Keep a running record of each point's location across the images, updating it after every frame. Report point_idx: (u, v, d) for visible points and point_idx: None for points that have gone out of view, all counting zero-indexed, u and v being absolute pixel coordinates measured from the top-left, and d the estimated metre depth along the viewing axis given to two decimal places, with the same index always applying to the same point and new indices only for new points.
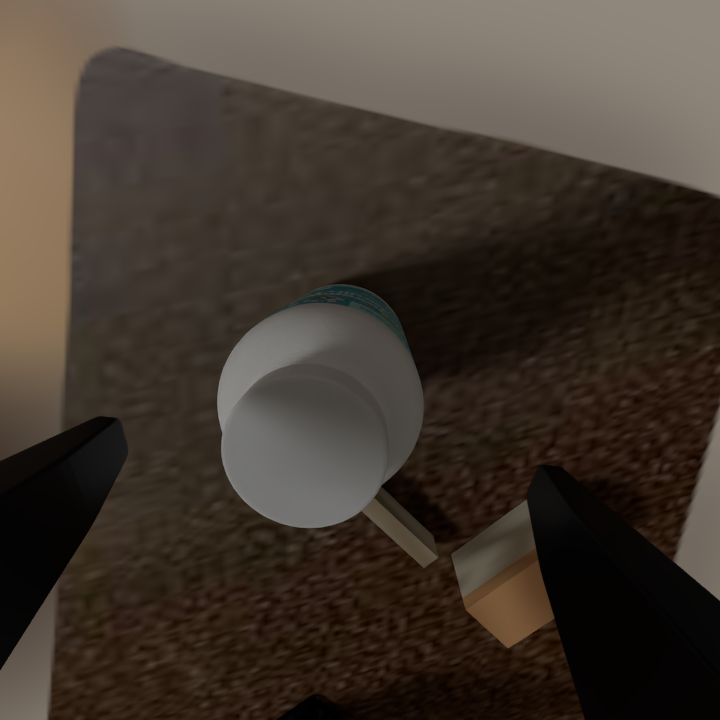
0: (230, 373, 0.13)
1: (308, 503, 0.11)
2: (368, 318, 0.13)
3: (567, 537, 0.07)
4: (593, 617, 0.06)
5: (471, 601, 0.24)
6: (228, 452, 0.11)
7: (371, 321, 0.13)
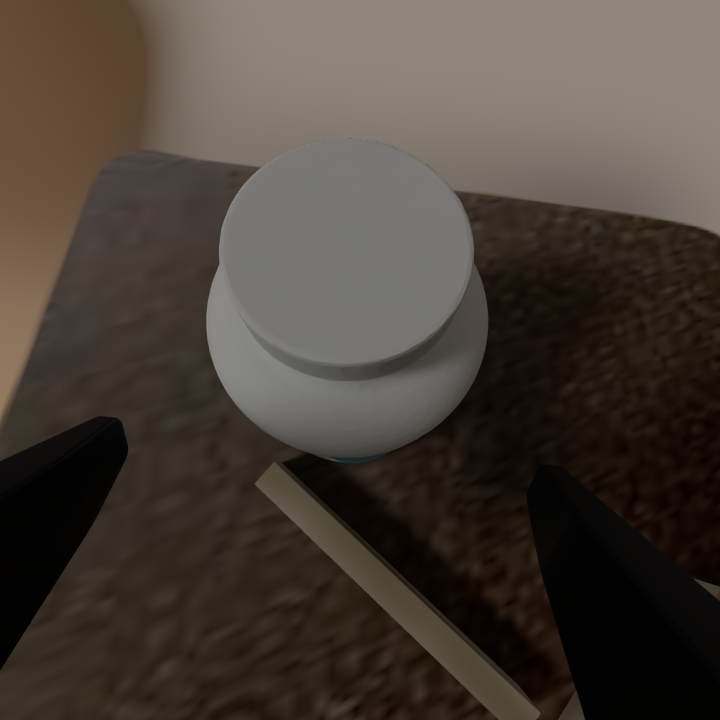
0: None
1: (358, 315, 0.07)
2: None
3: (567, 537, 0.07)
4: (593, 617, 0.06)
5: None
6: (230, 244, 0.07)
7: None
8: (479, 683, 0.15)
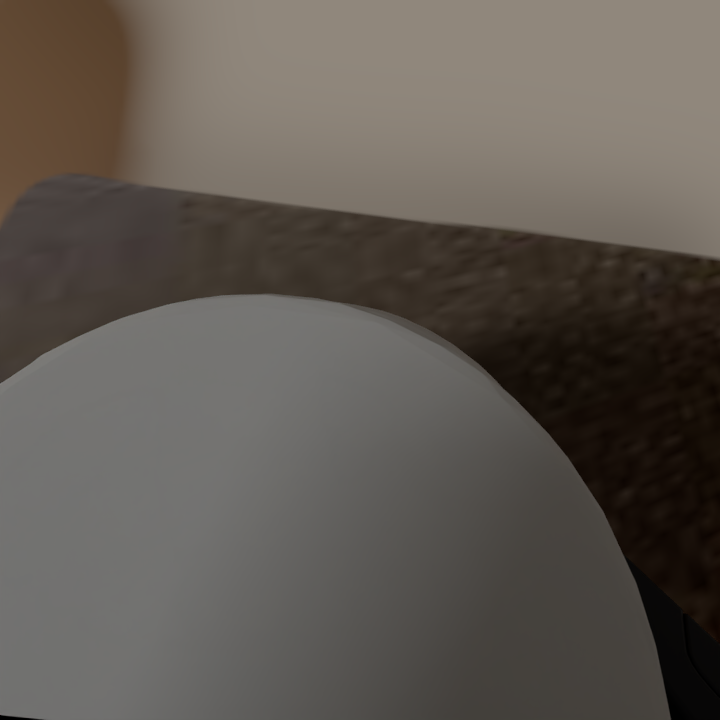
0: None
1: None
2: None
3: None
4: None
5: None
6: None
7: None
8: None
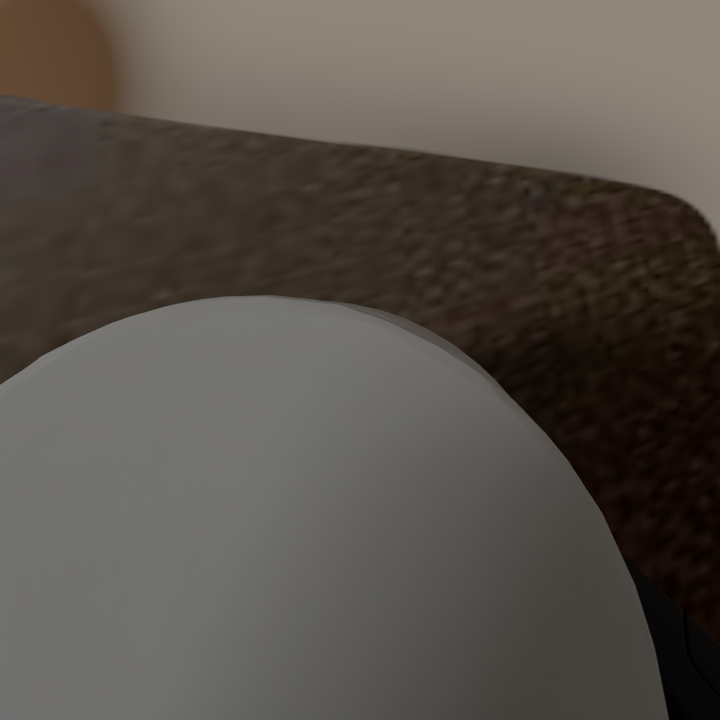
0: None
1: None
2: None
3: None
4: None
5: None
6: None
7: None
8: None
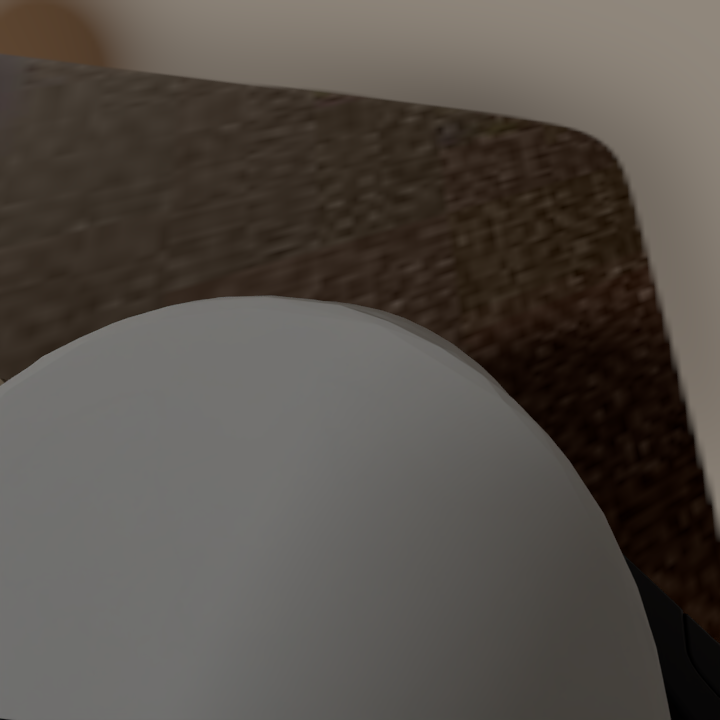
0: None
1: None
2: None
3: None
4: None
5: None
6: None
7: None
8: None
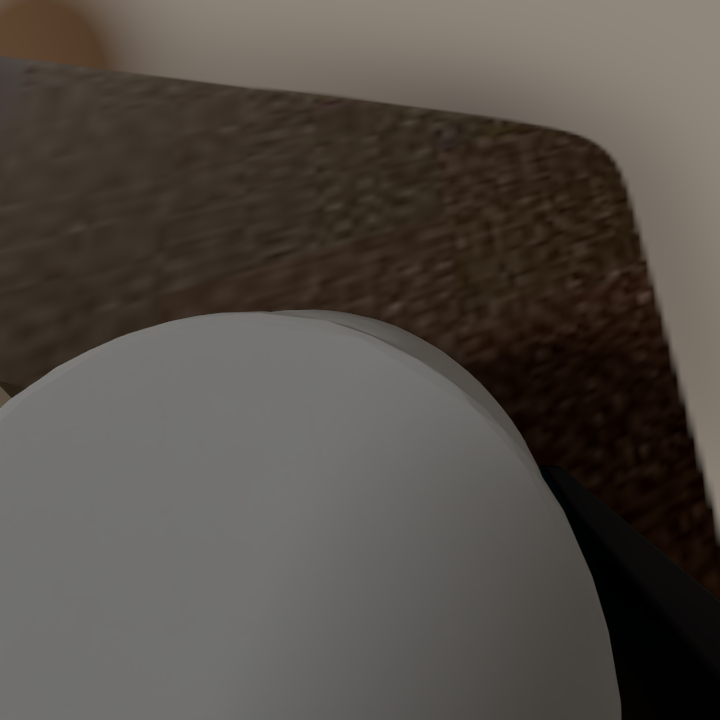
0: None
1: None
2: None
3: None
4: None
5: None
6: None
7: None
8: None
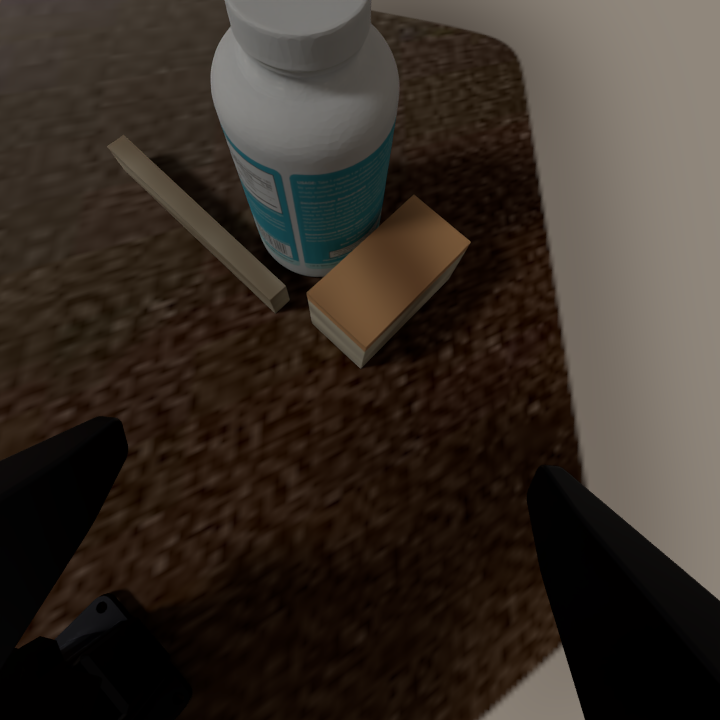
0: None
1: (300, 13, 0.12)
2: None
3: (567, 537, 0.07)
4: (593, 617, 0.06)
5: None
6: None
7: None
8: (246, 267, 0.22)
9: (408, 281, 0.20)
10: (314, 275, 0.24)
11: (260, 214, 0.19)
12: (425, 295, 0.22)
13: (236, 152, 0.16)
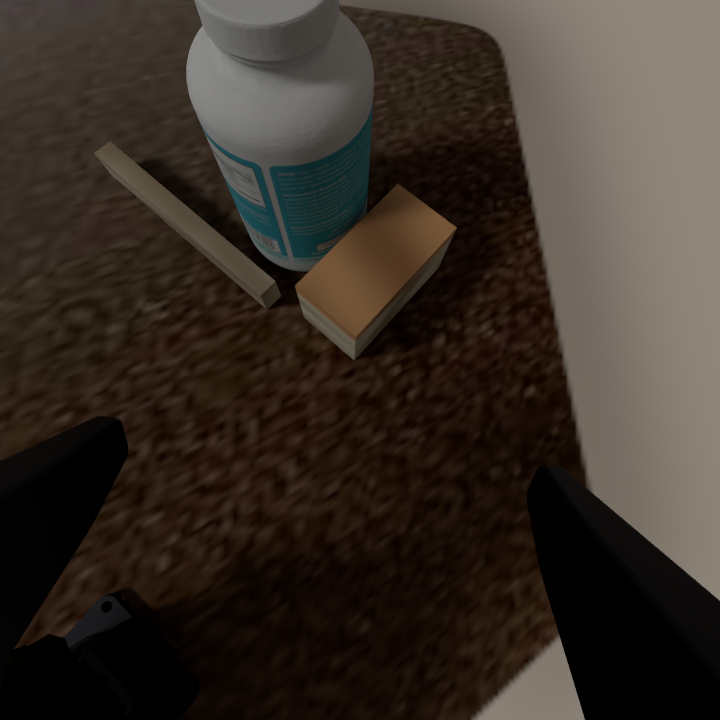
0: None
1: (267, 3, 0.12)
2: None
3: (567, 537, 0.07)
4: (593, 617, 0.06)
5: None
6: None
7: None
8: (236, 264, 0.22)
9: (395, 269, 0.20)
10: (304, 270, 0.24)
11: (245, 210, 0.20)
12: (414, 283, 0.22)
13: (216, 148, 0.16)
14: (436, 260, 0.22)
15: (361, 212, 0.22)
